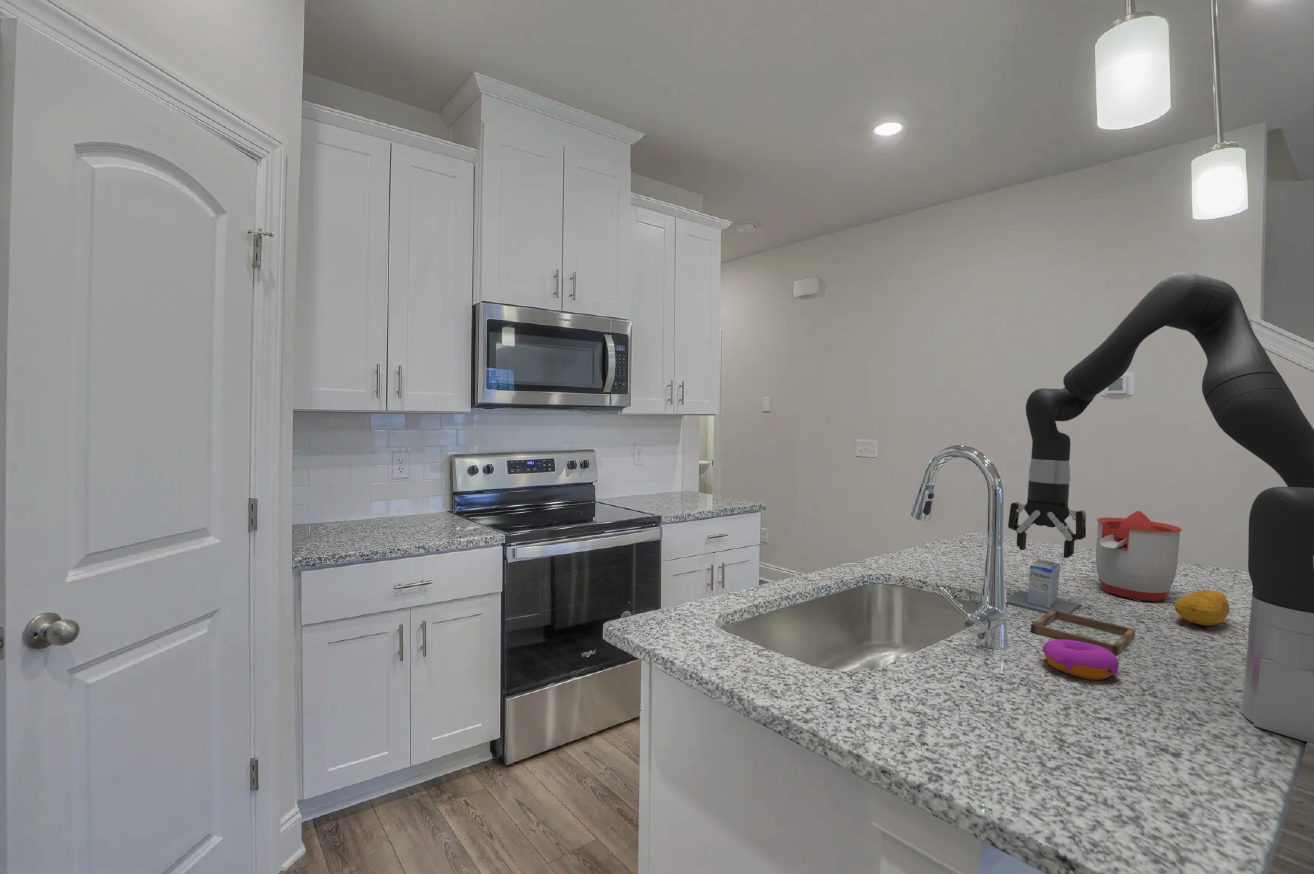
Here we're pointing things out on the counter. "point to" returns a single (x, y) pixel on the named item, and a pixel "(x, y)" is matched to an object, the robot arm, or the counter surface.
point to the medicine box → (1043, 583)
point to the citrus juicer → (1137, 556)
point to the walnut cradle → (1061, 635)
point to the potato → (1203, 607)
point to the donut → (1081, 659)
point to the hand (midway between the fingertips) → (1044, 553)
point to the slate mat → (1021, 601)
